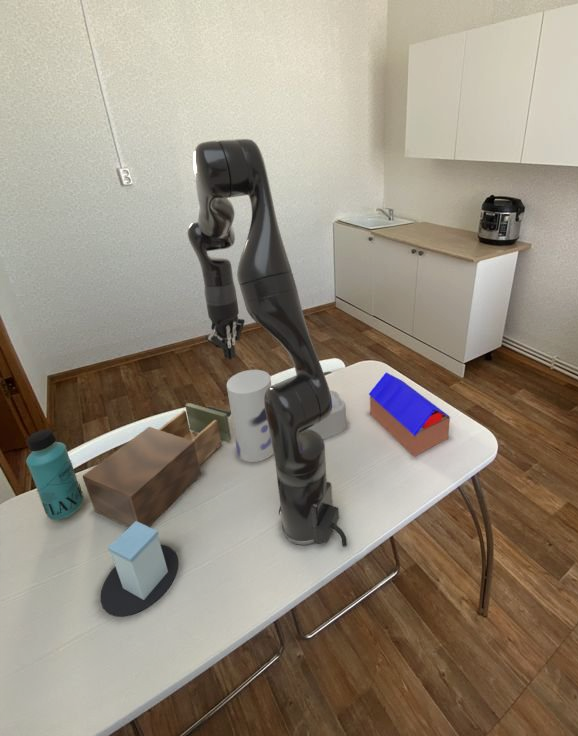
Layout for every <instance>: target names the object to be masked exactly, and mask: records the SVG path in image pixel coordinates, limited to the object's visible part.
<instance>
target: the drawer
mask: <svg viewBox="0 0 578 736" xmlns="http://www.w3.org/2000/svg"><path fill="white" fill-rule="evenodd" d="M184 406H185V410H182V411H180V412H179V413H178V414H177V415H175V416H174V417H173V418H171V419H170V420H169V421H167V422H166V423H165V424H163V425H162V426H160V427H159V428H157V429H158V430H161V431H164V432H167V433H170V434H173V435H176V436H179V437H182V438H185V439H188V440H191V441H194V444H195V449H196V454H197V458H198V463H199V466H200V465H202V463H204V461H206V460H207V459H208V458H209V457H210V456H211V455H212V454H213V453H214V452H215V451H216V450H217V449H218V448H219V447H220V446H221V445H222V441H223V442H227V443H229V442H230V441H231V440H232V436H231V435H232V434H231V430H230V423H229V418H230V417H231V410H227V409H223V408H220V407H216V406H212V405H208V406H207V407H204V406H201V405H197V404H194V403H191V402H188V403H186V404H185V405H184Z"/></svg>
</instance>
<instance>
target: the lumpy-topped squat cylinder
mask: <svg viewBox="0 0 578 736" xmlns="http://www.w3.org/2000/svg"><path fill="white" fill-rule="evenodd" d="M330 394H331V398H332V411H331V414H330V415H329V416H328V417H327V418H326V419H324V420H323V421H321V422H319V423H317V424H315V425H313V426H312V427H310V428H308V429H311V430H314V431H316V432H317V433H318V434H320V435H321V437H322V438H323V440H326V439H329V438H331V437H334V436H337V435H339V434H341V433H343V432H344V431H345V430H346V428H347V409H346V402H345V401H344V400H343V399H342V398H341V397H340V395H339V393H338V392H337V391H335V390H330Z"/></svg>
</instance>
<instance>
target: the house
mask: <svg viewBox="0 0 578 736" xmlns="http://www.w3.org/2000/svg"><path fill="white" fill-rule="evenodd" d="M368 395H369V414H370V416H371V417H372V418H374V419H375V420H376V421H377V422H378V423H379V425H381V426H382V427H383V428H384V430H386V431H387V432H388V433H389V434H390V435H391V436H392V437H393V438H395V441H397V442H398V443H399V444H400V445H402V447H403V448H405V450H407V452H408V453H409V454H411V455H412V456H413V457H416V456H419V455H420V454H423V453H424V452H426V451H428V450H429V449H432V448H434V447H436V446H438V445H440V444H441V443H443V442H445V441H447V440H448V439H449V434H450V420H451V416H450V415H449V414H447V413H446V412H445V411H444V410H442V409H441V408H439V407H438V406H436V404H434V403H433V402H431V401H430V400H429V399H427V398H426V397H424V395H422V394H421V393H419V392H418V391H417V390H415V389H414V388H412V387H411V386H410V385H409V384H407V383H406V382H405V381H404V380H402V379H400V378H398V377H396V376H395V375H392V374H391V373H389V372H385V373H384V374H383V375H382V377H381V378H380V379H379V380H378V381H377V383H376V384H375V385H374V386H373V388H372V389H371V391H370V392H369V393H368Z"/></svg>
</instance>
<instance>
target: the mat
mask: <svg viewBox="0 0 578 736" xmlns="http://www.w3.org/2000/svg"><path fill="white" fill-rule="evenodd" d="M160 545H161V548H162V552H163V555H164V559H165V563H166V566H167V570H168V572H167V574H166V575H165V576H164V577H163V578H162V579H161V581H160V582H159V583H158V584H157V585H156V586H155V588H154V589H153V590H152V591H151V592H150V594H149V595H148V596H147V597H146V598H145V599H144V600H143V599H141V598H139V597H137V596H136V595H134V594H132V593H130V592H129V591H127V590H125V589H123V587H122V584H121V581H120V578H119V575H118V572H117V569H116V567H115V566H114V567H113V568H112V569H111V570H110V572H109V573H108V574H107V576H106V578H105V580H104V581H103V585H102V586H101V590H100V603H101V606H102V609H103V610H104V611H105V612H106V613H107V614H108V615H111V616H113V617H121V618H122V617H123V618H124V617H129V616H130V617H131V616H133V615H136V614H140V613H141V612H143V611H145V610H147V609H149V608H150V607H151V606H153V605H154V604H155V603H157V601H159V600H160V599H161V598H162V597H163V596H164V595H165V594H166V593H167V591H168V590H169V589H170V587H171V585H172V584H173V582H174V581H175V578H176V576H177V573H178V569H179V559H178V555H177V553H176V551H175V550H174V549H173V548H172V547H170V546H168V545H166V544H162V543H160Z"/></svg>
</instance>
